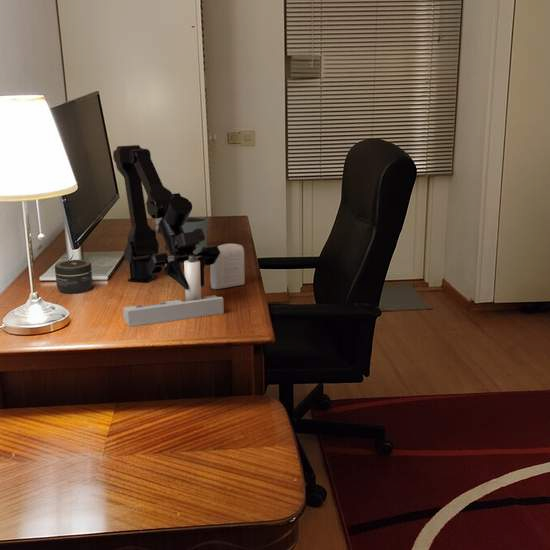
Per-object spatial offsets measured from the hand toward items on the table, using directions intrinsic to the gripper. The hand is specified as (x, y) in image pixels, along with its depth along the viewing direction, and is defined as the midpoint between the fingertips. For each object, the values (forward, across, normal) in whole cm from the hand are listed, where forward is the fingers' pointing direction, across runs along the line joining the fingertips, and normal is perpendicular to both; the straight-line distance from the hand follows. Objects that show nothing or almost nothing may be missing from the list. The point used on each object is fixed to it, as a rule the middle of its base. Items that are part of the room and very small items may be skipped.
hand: (195, 287), depth 173 cm
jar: (-22, -20, +31) cm, 43 cm away
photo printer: (-6, +18, +16) cm, 25 cm away
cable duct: (+4, -6, +5) cm, 9 cm away
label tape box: (-60, +34, +70) cm, 98 cm away
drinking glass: (-34, +27, +44) cm, 62 cm away
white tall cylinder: (+4, 0, +6) cm, 7 cm away
